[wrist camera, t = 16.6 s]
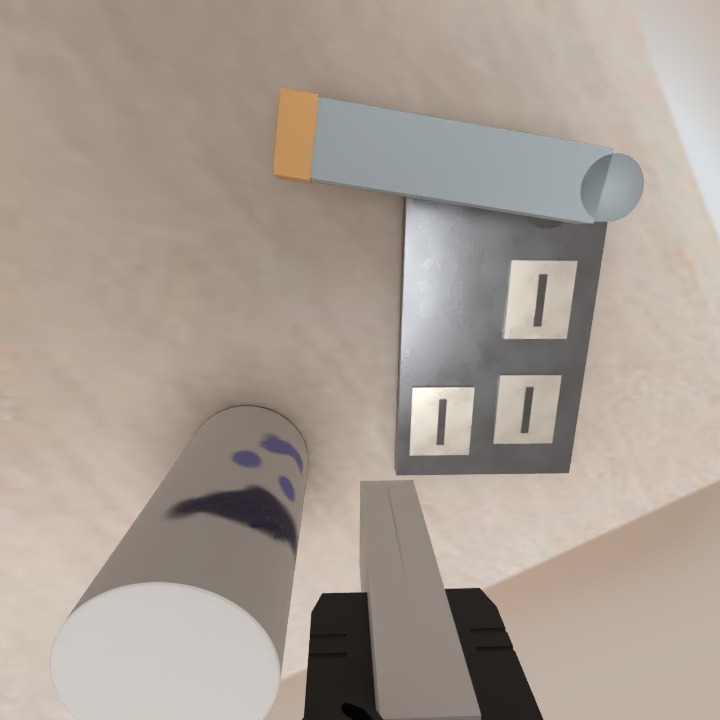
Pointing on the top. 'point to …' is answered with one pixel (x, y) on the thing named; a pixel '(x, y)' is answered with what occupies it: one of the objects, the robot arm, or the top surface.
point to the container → (195, 585)
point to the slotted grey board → (492, 339)
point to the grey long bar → (451, 161)
